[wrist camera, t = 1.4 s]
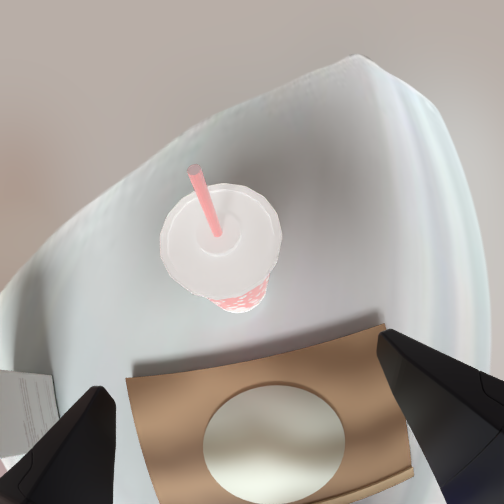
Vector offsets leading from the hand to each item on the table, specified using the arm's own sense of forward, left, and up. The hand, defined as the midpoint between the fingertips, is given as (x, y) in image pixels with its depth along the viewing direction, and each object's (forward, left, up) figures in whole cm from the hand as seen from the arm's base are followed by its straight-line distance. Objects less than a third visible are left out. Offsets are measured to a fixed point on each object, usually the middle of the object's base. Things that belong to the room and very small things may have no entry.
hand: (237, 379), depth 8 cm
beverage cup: (+7, 0, -13) cm, 14 cm away
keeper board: (-6, 0, -13) cm, 14 cm away
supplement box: (-2, +23, -13) cm, 26 cm away
